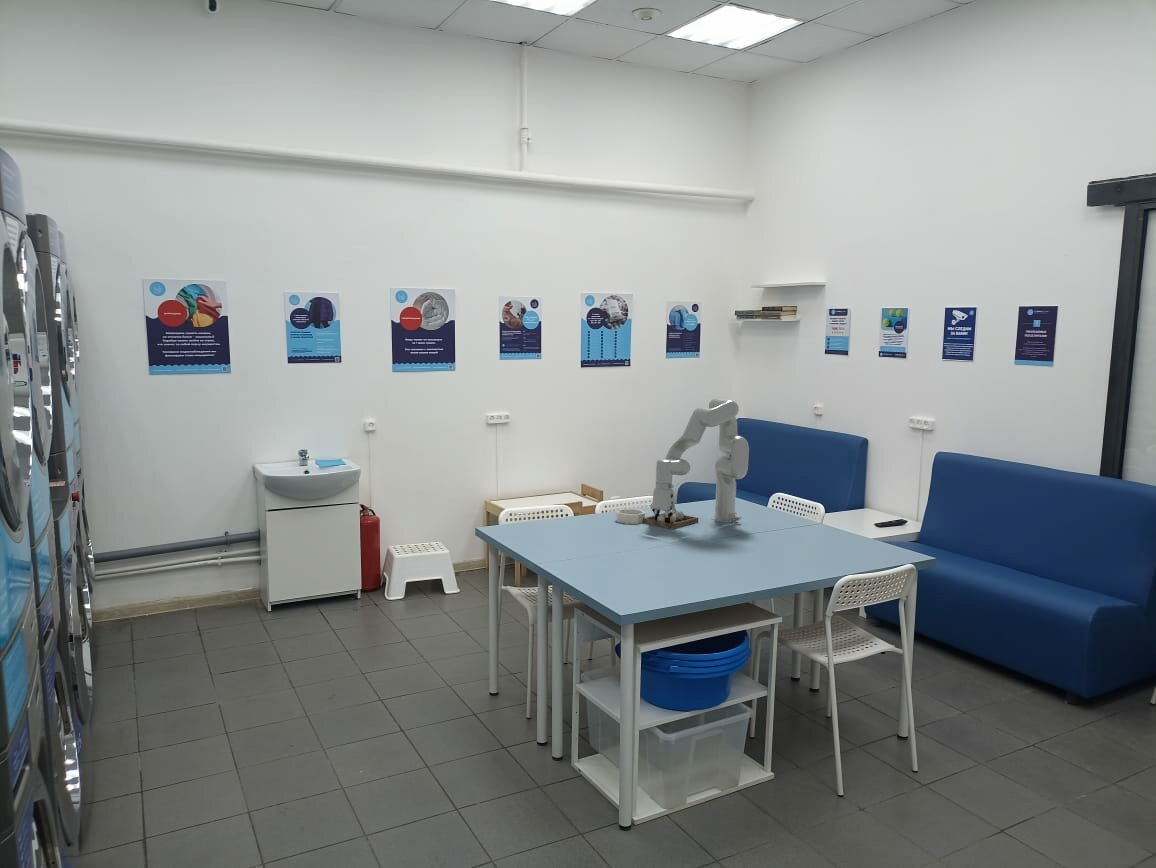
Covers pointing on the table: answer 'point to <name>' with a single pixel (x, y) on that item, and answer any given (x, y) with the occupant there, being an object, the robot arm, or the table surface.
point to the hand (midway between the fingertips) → (662, 523)
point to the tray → (676, 524)
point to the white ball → (661, 517)
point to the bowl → (630, 516)
